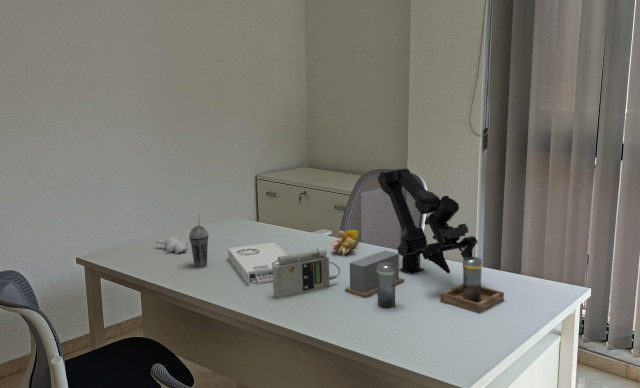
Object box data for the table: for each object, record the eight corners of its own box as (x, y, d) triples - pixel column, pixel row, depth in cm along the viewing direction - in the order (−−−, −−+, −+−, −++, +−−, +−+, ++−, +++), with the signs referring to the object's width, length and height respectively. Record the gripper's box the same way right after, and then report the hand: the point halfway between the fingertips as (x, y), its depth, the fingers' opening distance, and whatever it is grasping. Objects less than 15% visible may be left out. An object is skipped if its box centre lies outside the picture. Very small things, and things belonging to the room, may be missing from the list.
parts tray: (465, 289, 215) (465, 282, 214) (503, 300, 205) (503, 292, 204) (440, 301, 205) (440, 293, 205) (478, 313, 195) (479, 305, 195)
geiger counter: (275, 259, 208) (344, 246, 219) (268, 253, 214) (334, 241, 225) (277, 300, 211) (344, 285, 222) (270, 293, 217) (335, 279, 228)
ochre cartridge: (464, 294, 209) (464, 255, 206) (482, 296, 206) (483, 257, 204) (460, 301, 203) (461, 261, 201) (479, 303, 201) (480, 263, 199)
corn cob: (358, 248, 276) (343, 259, 252) (342, 239, 277) (326, 248, 253) (367, 232, 274) (353, 241, 250) (351, 222, 275) (335, 230, 251)
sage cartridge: (385, 299, 208) (385, 261, 205) (399, 304, 204) (399, 264, 201) (373, 305, 204) (372, 265, 201) (387, 309, 200) (387, 269, 197)
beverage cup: (187, 268, 245) (183, 216, 241) (197, 262, 252) (194, 212, 248) (204, 269, 243) (200, 218, 238) (214, 264, 249) (210, 213, 245)
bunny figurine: (173, 247, 260) (153, 236, 270) (173, 258, 261) (153, 247, 271) (193, 241, 266) (173, 231, 276) (193, 253, 267) (173, 242, 278)
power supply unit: (249, 287, 225) (248, 274, 223) (228, 260, 255) (227, 248, 254) (300, 279, 231) (300, 266, 230) (274, 254, 261) (274, 242, 260)
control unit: (384, 276, 230) (383, 248, 228) (404, 281, 224) (404, 253, 222) (344, 291, 217) (344, 262, 214) (364, 297, 210) (364, 268, 208)
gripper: (427, 220, 205) (448, 263, 198) (474, 212, 213) (496, 253, 206) (413, 237, 214) (432, 279, 207) (459, 229, 222) (479, 269, 215)
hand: (461, 270), depth 208 cm, fingers open, 9 cm apart
